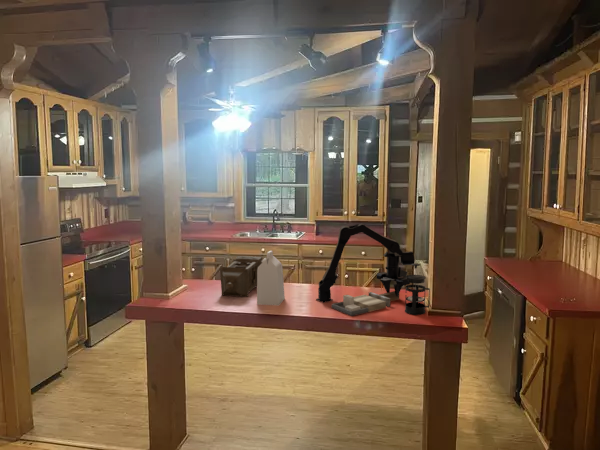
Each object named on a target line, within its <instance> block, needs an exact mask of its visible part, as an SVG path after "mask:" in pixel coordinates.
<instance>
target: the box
mask: <svg viewBox="0 0 600 450" xmlns="http://www.w3.org/2000/svg"><path fill="white" fill-rule="evenodd" d="M331 309H333V310H335V311H338V312H340V313H343V314H344V315H347V316H349V317H354V316H358V315H362V314H366V313H369V312H368V308H363V309H362V308H360V309H359V310H355V311H350V310H347V309H345V306H344V305H343V301H339V302H334V303H331Z"/></svg>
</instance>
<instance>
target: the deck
mask: <svg viewBox="0 0 600 450" xmlns="http://www.w3.org/2000/svg"><path fill="white" fill-rule="evenodd" d="M353 297H354V305H357V306H360V308H362V309H363V308H368V312H367V313H370V312H374V311H378V310H382V309H386V307H387V306H386V302H385V301H382V300H379V299H376V298H374V297H371V296H369V294H368V295H367V294H362V295H361V294H360V295H357V296H353Z"/></svg>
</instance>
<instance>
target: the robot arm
mask: <svg viewBox="0 0 600 450" xmlns="http://www.w3.org/2000/svg"><path fill="white" fill-rule="evenodd" d="M338 231H339V232H338V235H337V236H338V237H337V243H336V245H335V246H336V247H335V249H334V252H333V254H332V257H331V260H330V263H329V266H328V268H327V269H326V271H325V272H324V274H323V276H322V279H321V280H320V281H318V288H317V289H318V298H315V301H318V302H320V303H322V304H323V303H329V302H333V301H334V299H332V298H331V297H332V294H331V288H332V287H333V286H334V285H335V284H336V282H337V279H338V277H339V276H338V273H336V272H337V268H338V265H339V264H340V259H341V257H342V255H343V252H344V249H345V246H346V244H347V243H348V241H349V240H350V238H351V236H355V235H358V234H360V233H363V234H364V235H366V236H368V237H370V238H371V239H372V240H374V241H376V242H378V243H380V244H381V245H382V246H384V248H386V249H387V250H388V251H389V252H388V251H386V252H385V253H384V254H383V257H385V258H387V263H386V265H387V266H385V270H387V272H385V271H382V272H377V274H376V279H378V280H380V282H381V283H382V285H383V287H384V289H385V293H388V292H391V291H390V290H391V283H392V281H393V282H396V283H394V284H393V288H394V291H395V294H396V297H397V296H398V295H399V296H400V292H401V290H402V288H403V286H407V285H411V283H409V282H408V280H407V278H406V276H407V275H408V271H406V270H402V267H401V266H400V264H401V265H402V266H412V265H411V264H414V263H415V256H414V252H413V251H412V250H411V251H403V250H402V249H401V245H400V244H399V243H398V242H397V241H396V240H395V239H391V238H390V237H386V236H383V235H382V234H380V233H379V232H376V231H375V230H373V229H372V228H370V227H369V226H367V225H365V224H364V223H358V224H353V225H349V226H348V225H341V226H340V229H339V230H338Z"/></svg>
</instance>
